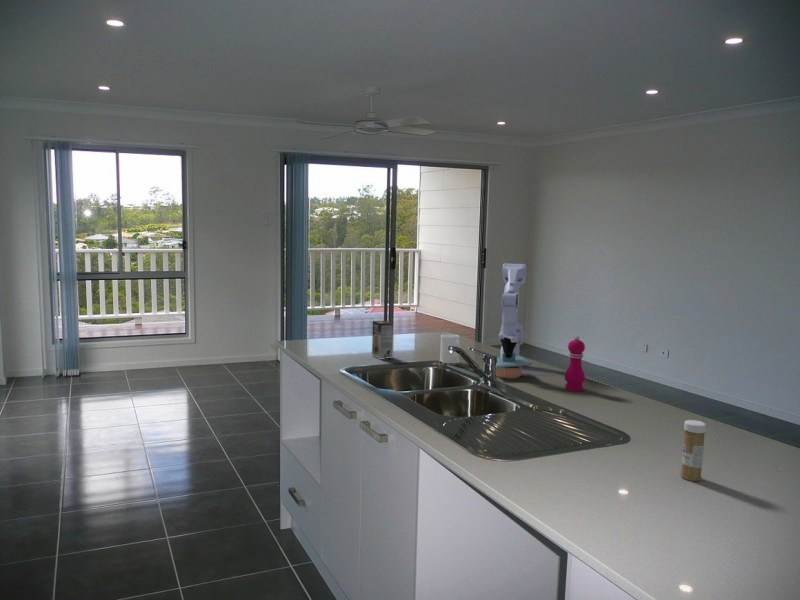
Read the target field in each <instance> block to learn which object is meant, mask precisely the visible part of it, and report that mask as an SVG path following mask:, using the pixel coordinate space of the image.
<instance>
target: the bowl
mask: <svg viewBox="0 0 800 600" xmlns="http://www.w3.org/2000/svg"><path fill="white" fill-rule="evenodd" d="M522 367H523V366H515V367H502V368H497V370H496V376H495V377H497V378H499V379H500V378H501V379H511V380H513V379H518V378H520V376H521V374H522Z"/></svg>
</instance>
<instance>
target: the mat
mask: <svg viewBox="0 0 800 600" xmlns="http://www.w3.org/2000/svg"><path fill="white" fill-rule="evenodd" d="M521 376H522V377H560V376H561V375H560V374H559V373H557V372H555V371H553V370H552V369H550V368H548V367H545V366H544V367H543V366H541V367H537V366H534V367H532V366H530V367H529V366H522V374H521Z"/></svg>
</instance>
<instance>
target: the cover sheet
mask: <svg viewBox="0 0 800 600" xmlns="http://www.w3.org/2000/svg"><path fill="white" fill-rule="evenodd" d="M496 358H497V363H496V368H502V367H515V366H522V367H528V366H533V365H532V364H533V363H532V362H530V361H529V360H527V359H525V357H523V356H521V355H519V356H515V353H513V354H512V357H511V358H506V356H505V353H503V354H502V357H501V358H500V357H496Z"/></svg>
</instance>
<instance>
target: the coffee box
mask: <svg viewBox="0 0 800 600" xmlns="http://www.w3.org/2000/svg"><path fill="white" fill-rule="evenodd" d="M393 330H394V323H392V322H390V321H387V320H372V339H371V340H372V343H371V348H372V349H371V353H372V354H371V356H372V355H374V356H377V357H378V358H386V357H392V358H393V338H394V336H393V335H394V334H393V333H394V331H393ZM374 356H373V357H374Z"/></svg>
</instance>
